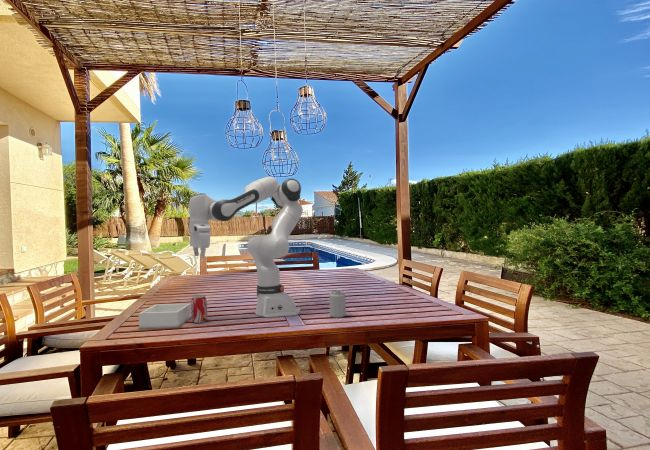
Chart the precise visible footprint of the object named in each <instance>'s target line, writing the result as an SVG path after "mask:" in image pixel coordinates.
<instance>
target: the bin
mask: <svg viewBox="0 0 650 450" xmlns="http://www.w3.org/2000/svg"><path fill="white" fill-rule="evenodd" d="M190 319H192V318H191V302H190V303H161V304H159V303H157V304H154V305H152V306H150V307H148V308H146V309H144V310H142V311H141V312H139V313H138V325H139V326H138V329H139V330H147V329H148V330H150V329H153V330H154V329H155V330H157V329H179V328H180V327H181V326H182V325H184V324H186V322H187V321H189V320H190Z"/></svg>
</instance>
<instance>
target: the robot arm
mask: <svg viewBox="0 0 650 450" xmlns="http://www.w3.org/2000/svg"><path fill="white" fill-rule="evenodd" d="M301 192H302V186H301V183H300V182H299V181H298V179H295V178H287V179H285V180H284V181H283V182H282V183H279V181H278V180H277V179H276V178H275V177H274V176H266V177H263V178H259V179H256V180H254V181H252V182H250V183H248V184H247V185H246V186H245V187H244V189H243V193H242V194H239V195H237V196H236V197H233V198H232V199H220V200H217V199H215V198H212V197H210V196H209V195H208V194H207V193H198V194H193V195H191V196H190V198H189V204H188V214H189V220H188V226H189V227H188V232H190V234H189V245H190V247H192V250H193V254H194V257H200V258H205V256H206V249H208V248H210V245H211V232H212V226H211V225H210V221H209V220H211V221H215V222H218V221H220V222H228V221H230V220H231V219H233V218H234V216H235V215H236V214H237V213H238V212H239V211H241V210H242V209H244V208H246V207H249V206H250V205H254V204H257V203H261V202H263V201H265V200H267V199H269V198H270V200H271V201H272V203H273V204H274V205H275V206H276V207H277V208H279V209H280V211H279V212H278V214H277V215H276V216H275V218H274V219H273V220H272V222H271V224H270V228H271V232H270V233H269V234H268V235H256V236H253V237H251V238H250V239H249V240H247V245H246V249H247V252H248V253H249V254H250V255H251V256H252V258H253V261H254V264H255V268H256V276H257V277H256V278H257V285H256V297H257V298H256V300H257V301H256V307H255V311H254V314H255V315H256V316H260V317H264V318H274V317H275V318H276V317H288V316H289V317H290V316H291V317H292V316H297V315H299V314H300V312H301V309H300V307H298V306H296V302H295V299H294V298H293V296H290V294H288V293H287V292H285V286H284V285H283V284H281V283H280V281H281V279H280V269H279V267H278V265H277V264H276V263H275V261H274V259H279V258H282V257H283V258H284V257H285V256H288V255H287V254H288V253H289V251H290V242H289V237H290V235H291V233H292V231H294V229H295V227H296V226H297V224H298V223H299V221H300V219H301V217H302V215H303V213H304V212H303V211H304V209H303V206H302V204H301V203H299V200H301ZM199 249H200V253H199Z"/></svg>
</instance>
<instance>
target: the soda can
mask: <svg viewBox="0 0 650 450" xmlns="http://www.w3.org/2000/svg"><path fill="white" fill-rule="evenodd" d="M190 303H191V318H190V319H191V321H192V322H193V323H194V324H202V323H204V322H206V321H207V320H208V302H207V297H206V295H204V294H197V295H193V296H192V298H191V301H190Z"/></svg>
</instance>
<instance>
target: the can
mask: <svg viewBox="0 0 650 450" xmlns="http://www.w3.org/2000/svg"><path fill="white" fill-rule="evenodd" d="M346 311H347V310H346V294H345V293H344V290H340V289H339V290H331V291H330V293H329V316H331V318H335V319H336V318H338V319H340V318H344V317H345V316H346Z"/></svg>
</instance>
